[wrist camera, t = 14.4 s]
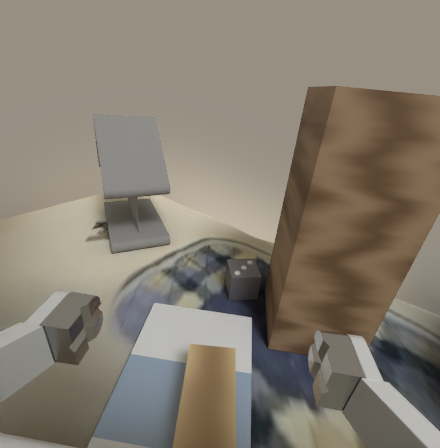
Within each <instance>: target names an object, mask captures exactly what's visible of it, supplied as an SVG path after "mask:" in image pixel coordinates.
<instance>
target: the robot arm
mask: <svg viewBox="0 0 440 448" xmlns="http://www.w3.org/2000/svg"><path fill="white" fill-rule="evenodd" d="M100 304H101V303H100V299H99V297H97V296H92V295H87V294H81V293H76V292H69V291H63V290H58V291H56V292H54V293H53V294H52V295H51V296H50V297H49V298H48V299H47V300H46V301H45V302H44V303H43V304H42V305H41V306H40V307H39V308H38V309H37V310H36V311H35V312H34V313H33V314H32V315H31V316H30V317H29V318H28V319H27V320H26V321H25V322H24V323H17V324H15V325H13V326H11V327H9V328H7V329H5V330H2V331H0V403H1V402H2V401H4V400H5V399H7V398H8V397H9V396H11V395H12V394H13V393H15V392H16V391H17V390H19V389H20V388H22V387H23V386H24V385H26V384H27V383H28V382H30V381H31V380H33V379H34V378H35V377H37V376H38V375H39V374H41V373H42V372H43V371H45V370H46V369H48V368H49V367H50V366H52V365H53V364H54V363H55V362H59V363H67V364H74V365H78V364H79V363H80V361H81V360H82V358H83V357H84V355H85V353H86V352H87V350H88V349H89V346H88V342H90V341H91V340H93V339H94V338H96V336H97V335H98V333H99V331H100V329H101V326H102V322H103V315H102V312H101V311H100V310H99V309H98V307H99V306H100ZM314 339H315V343H314V344H312V345H311V347H310V350H309V356H308V364H309V371H310V374H311V375H312V376H313V377H314V379H315V381H314V383H313V385H312V386H313V391H314V396H315V401H316V406H320V407H325V408H330V409H335V410H340V411H343V412H342V413H343V414H344V416H345V417H346V419H347V420H348V421H349V423H350V424H351V426H352V427H353V429H354V430H355V432H356V433H357V434H358V436H359V437H360V439H361V440H362V442H363V443H364V445H365V446H366V447H367V448H440V431H439V430H438V429H437V428H436V427H434V426H433V425H432V424H431V423H430V422H429V421H428V420H427V419H426V418H425V417H424V416H423V415H422V414H421V413H420V412H419V411H418V410H417V409H416V408H415V407H414V406H413V405H412V404H410V403H409V402H408V401H407V400H406V399H405V398H404V397H403V396H402V395H401V394H400V393H399V392H398V391H397V390H396V389H395V388H394V387H393V386H392V385H391V384H390V383H389V382H384V381H383V379H382V377H381V374H380V372H379V370H378V368H377V366H376V363H375V361H374V359H373V357H372V354H371V352H370V350H369V348H368V346H367V343H366V341H365V339H364V338H363V337H362V336H357V335H350V334H344V333H337V332H330V331H323V330H318V331H317V332H316V333H315V336H314ZM0 424H1V418H0ZM0 448H78V447H73V446H68V445H62V444H57V443H52V442H47V441H41V440H36V439H31V438H26V437H20V436H15V435H10V434H5V433H0Z"/></svg>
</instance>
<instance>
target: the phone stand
mask: <svg viewBox="0 0 440 448" xmlns="http://www.w3.org/2000/svg"><path fill="white" fill-rule="evenodd" d="M93 119H94V127H95V136H96V145H97V153H98V161H99V167H100V168H101V175H102V182H103V190H104V198H105V199H113V198H126V197H128V201H117V202H105V203H104V206H105V212H106V218H107V224H108V230H109V237H110V244H111V251H112V253H117V252H124V251H130V250H136V249H143V248H149V247H155V246H161V245H168V244H170V237H169V234H168V232H167V230H166V228H165V227H164V225H163V223H162V221H161V219H160V217H159V215H158V213H157V211H156V209H155V208H154V206H153V204H152V202H151V200H150V199H140V200H137V197H138V196H151V195H161V194H169V193H170V185H169V181H168V176H167V171H166V166H165V161H164V156H163V151H162V147H161V142H160V137H159V133H158V127H157V122H156V117H148V116H122V115H96V114H93Z"/></svg>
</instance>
